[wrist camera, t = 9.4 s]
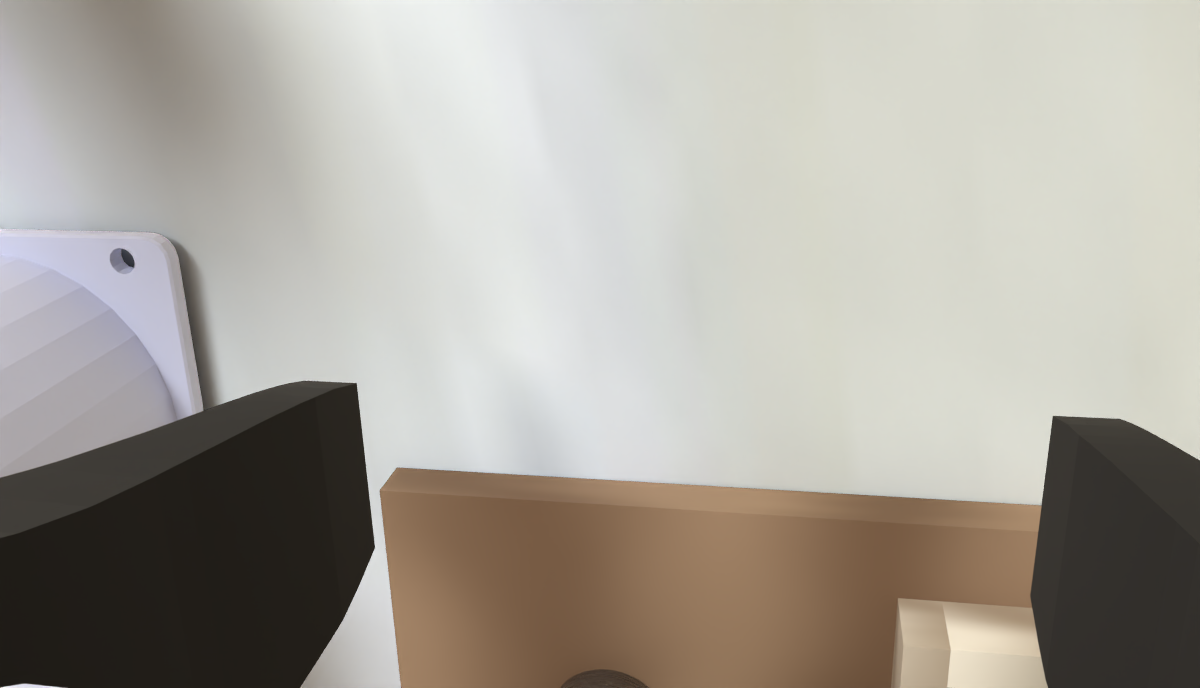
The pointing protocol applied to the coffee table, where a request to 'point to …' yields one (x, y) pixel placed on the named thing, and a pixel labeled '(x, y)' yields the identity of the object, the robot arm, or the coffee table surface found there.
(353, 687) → the coffee table surface
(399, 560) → the brown board
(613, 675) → the brushed metal cylinder
